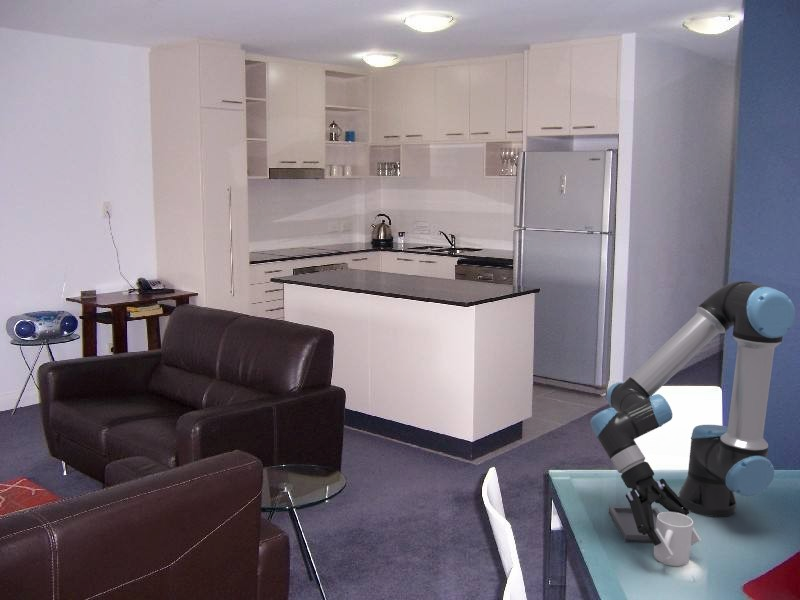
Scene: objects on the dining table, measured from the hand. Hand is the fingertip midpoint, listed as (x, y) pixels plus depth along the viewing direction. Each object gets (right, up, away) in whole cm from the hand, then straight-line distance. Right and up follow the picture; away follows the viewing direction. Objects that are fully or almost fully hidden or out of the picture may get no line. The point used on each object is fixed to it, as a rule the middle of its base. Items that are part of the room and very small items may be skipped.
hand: (682, 549), depth 193 cm
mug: (-2, -4, +3) cm, 6 cm away
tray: (-4, -1, +21) cm, 21 cm away
